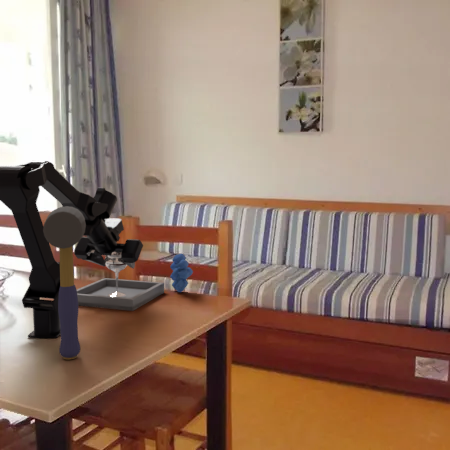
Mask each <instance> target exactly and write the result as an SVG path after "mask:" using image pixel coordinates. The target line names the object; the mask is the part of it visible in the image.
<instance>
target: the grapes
mask: <svg viewBox="0 0 450 450" xmlns="http://www.w3.org/2000/svg"><path fill="white" fill-rule="evenodd" d="M186 259H187V257H186V256H185V254H183V253H179V254H178V253H177V254H175V255H173V257H172V259H171V260H172V263H171V264H170V267H169V268H170V269H171V271H172V273H171V274H170V276H169V277H170V279H171V280H172V281H173V282H172V284H171V286H172V287H173V288H174V289H175V290H176V292H178V293H182V292H184V291H185V289H186V288H187V286H188V284H189V281H188V280H187V279H188V278H190V277H191V276H192V275H193V273H194V270H193V269H192V268H191V266H190V267H189V265H190V264H189V262H188V261H187V260H186Z"/></svg>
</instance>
